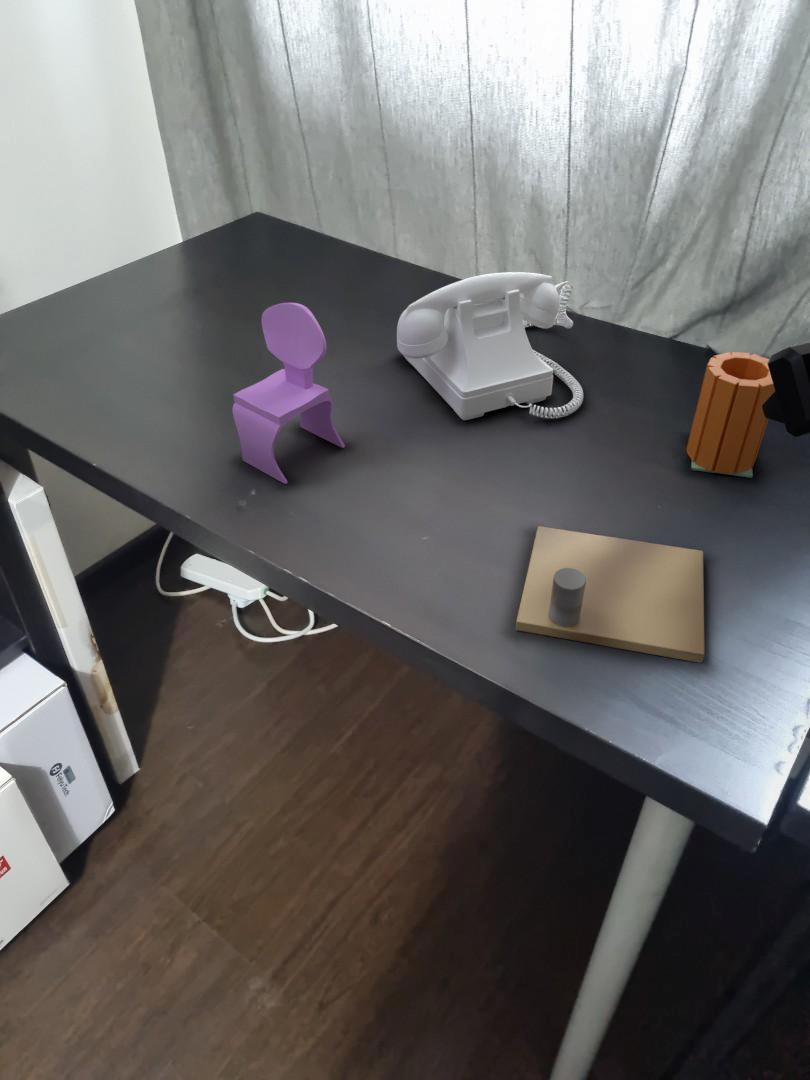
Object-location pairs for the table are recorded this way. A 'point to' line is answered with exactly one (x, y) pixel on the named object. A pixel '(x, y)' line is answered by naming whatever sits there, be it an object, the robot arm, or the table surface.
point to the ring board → (615, 593)
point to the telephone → (488, 342)
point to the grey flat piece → (744, 474)
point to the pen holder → (730, 413)
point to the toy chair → (285, 388)
